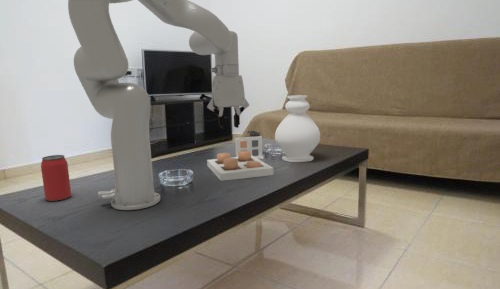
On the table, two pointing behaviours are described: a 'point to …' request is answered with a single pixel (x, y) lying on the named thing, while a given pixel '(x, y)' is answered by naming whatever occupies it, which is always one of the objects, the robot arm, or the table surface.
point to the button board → (239, 170)
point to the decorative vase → (297, 131)
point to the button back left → (222, 157)
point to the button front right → (253, 164)
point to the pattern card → (250, 146)
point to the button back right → (244, 156)
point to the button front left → (230, 163)
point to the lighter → (254, 134)
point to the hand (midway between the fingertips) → (229, 127)
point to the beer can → (55, 178)
